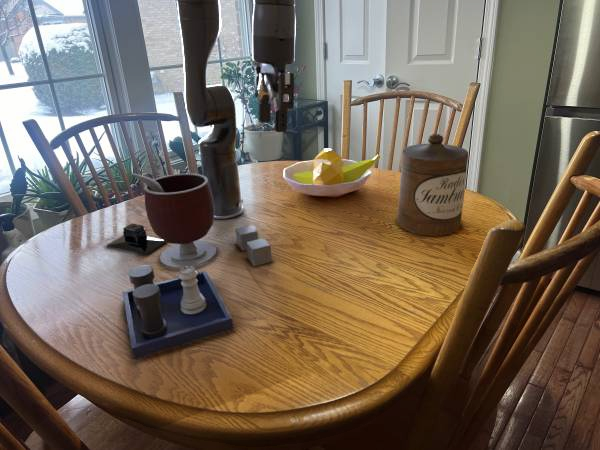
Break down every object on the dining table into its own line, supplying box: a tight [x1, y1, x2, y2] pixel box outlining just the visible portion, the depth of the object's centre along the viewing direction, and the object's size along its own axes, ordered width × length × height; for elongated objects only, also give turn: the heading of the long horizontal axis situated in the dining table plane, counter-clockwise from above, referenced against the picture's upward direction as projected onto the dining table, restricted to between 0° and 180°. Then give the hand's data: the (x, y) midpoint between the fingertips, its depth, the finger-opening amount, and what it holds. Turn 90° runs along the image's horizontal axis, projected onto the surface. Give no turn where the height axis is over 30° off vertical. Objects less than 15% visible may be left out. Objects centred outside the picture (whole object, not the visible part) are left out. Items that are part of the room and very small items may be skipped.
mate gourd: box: [130, 172, 217, 268], centre depth 93 cm, size 16×14×20 cm
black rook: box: [128, 264, 161, 315], centre depth 76 cm, size 4×4×8 cm
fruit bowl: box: [282, 148, 381, 198], centre depth 130 cm, size 28×27×11 cm
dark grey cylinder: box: [133, 283, 168, 340], centre depth 70 cm, size 4×4×8 cm
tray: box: [121, 270, 234, 360], centre depth 76 cm, size 18×16×3 cm
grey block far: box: [234, 224, 259, 252], centre depth 100 cm, size 4×4×4 cm
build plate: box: [106, 223, 167, 256], centre depth 103 cm, size 12×7×5 cm, turn 65°
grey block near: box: [246, 237, 273, 267], centre depth 93 cm, size 4×4×4 cm
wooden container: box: [397, 133, 469, 237], centre depth 103 cm, size 15×15×22 cm
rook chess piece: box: [177, 266, 206, 315], centre depth 76 cm, size 4×4×8 cm
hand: (272, 126), depth 83 cm, fingers open, 8 cm apart
